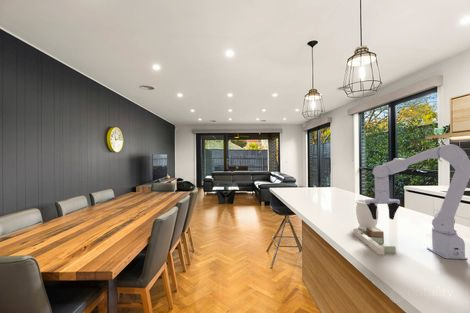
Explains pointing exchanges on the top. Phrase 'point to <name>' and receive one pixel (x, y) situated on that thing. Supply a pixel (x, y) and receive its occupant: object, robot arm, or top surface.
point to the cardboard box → (374, 232)
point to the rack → (374, 242)
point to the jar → (365, 215)
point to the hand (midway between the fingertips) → (382, 218)
